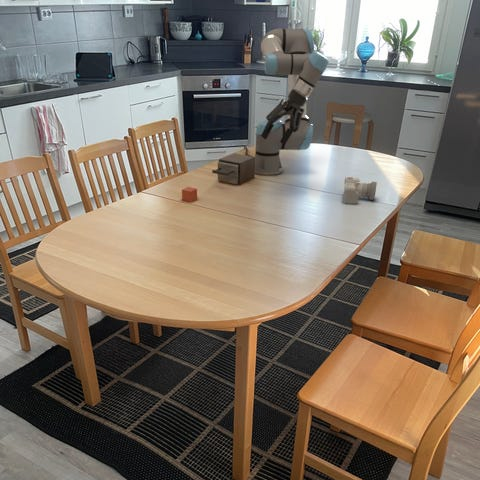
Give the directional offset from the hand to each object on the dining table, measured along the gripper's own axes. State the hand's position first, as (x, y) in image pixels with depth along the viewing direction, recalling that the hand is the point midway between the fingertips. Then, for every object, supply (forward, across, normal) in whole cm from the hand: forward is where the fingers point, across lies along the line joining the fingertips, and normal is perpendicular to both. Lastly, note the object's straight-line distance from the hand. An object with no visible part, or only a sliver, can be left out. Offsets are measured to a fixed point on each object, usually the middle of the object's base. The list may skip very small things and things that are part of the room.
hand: (273, 140), depth 208 cm
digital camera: (+1, +23, -37) cm, 44 cm away
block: (+34, -27, +2) cm, 43 cm away
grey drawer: (+26, +1, +10) cm, 28 cm away
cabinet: (+26, +6, +12) cm, 29 cm away
